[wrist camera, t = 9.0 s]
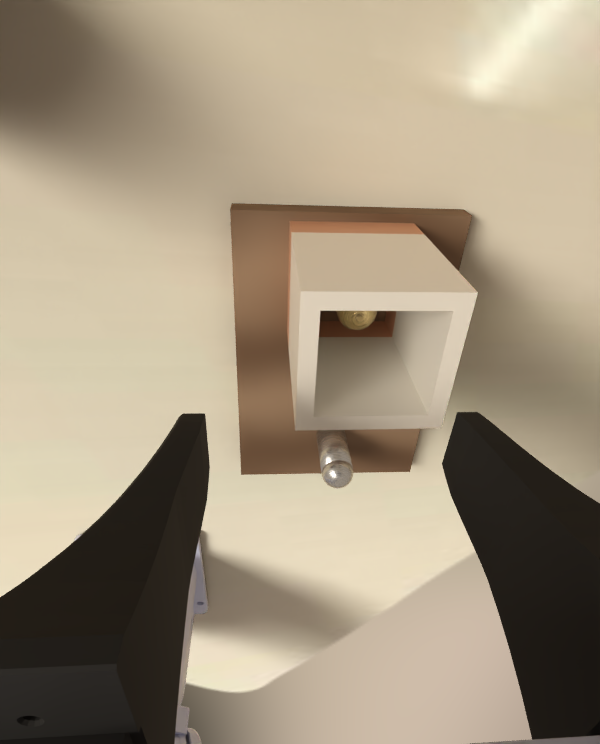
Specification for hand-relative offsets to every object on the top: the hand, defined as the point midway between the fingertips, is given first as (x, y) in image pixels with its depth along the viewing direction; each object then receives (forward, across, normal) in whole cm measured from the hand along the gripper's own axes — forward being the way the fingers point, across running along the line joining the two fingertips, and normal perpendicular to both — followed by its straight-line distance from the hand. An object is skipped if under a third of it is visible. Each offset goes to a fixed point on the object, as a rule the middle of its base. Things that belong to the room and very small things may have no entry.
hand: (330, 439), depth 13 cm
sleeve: (+9, -2, -1) cm, 10 cm away
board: (+10, -2, +4) cm, 11 cm away
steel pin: (+9, -2, +8) cm, 12 cm away
